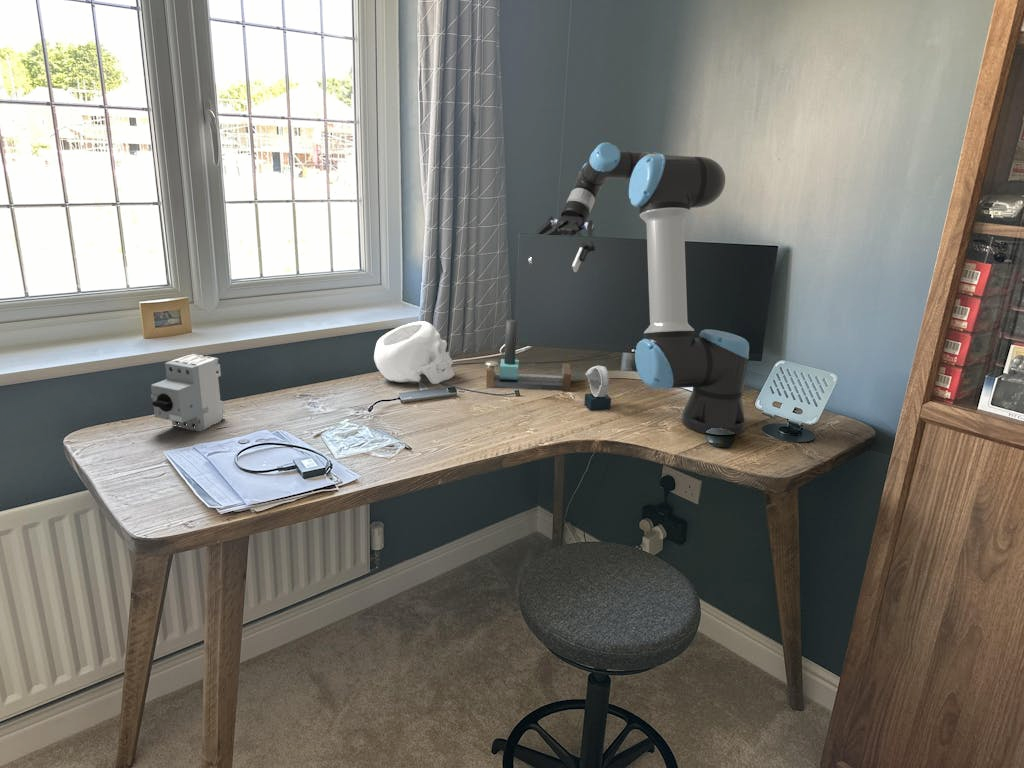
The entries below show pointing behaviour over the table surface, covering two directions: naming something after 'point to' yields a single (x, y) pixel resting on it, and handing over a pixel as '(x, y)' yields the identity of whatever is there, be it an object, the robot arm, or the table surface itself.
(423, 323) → the skull planter
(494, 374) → the rail
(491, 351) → the table surface
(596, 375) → the watch
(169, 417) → the circuit breaker
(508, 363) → the dark rod stand
